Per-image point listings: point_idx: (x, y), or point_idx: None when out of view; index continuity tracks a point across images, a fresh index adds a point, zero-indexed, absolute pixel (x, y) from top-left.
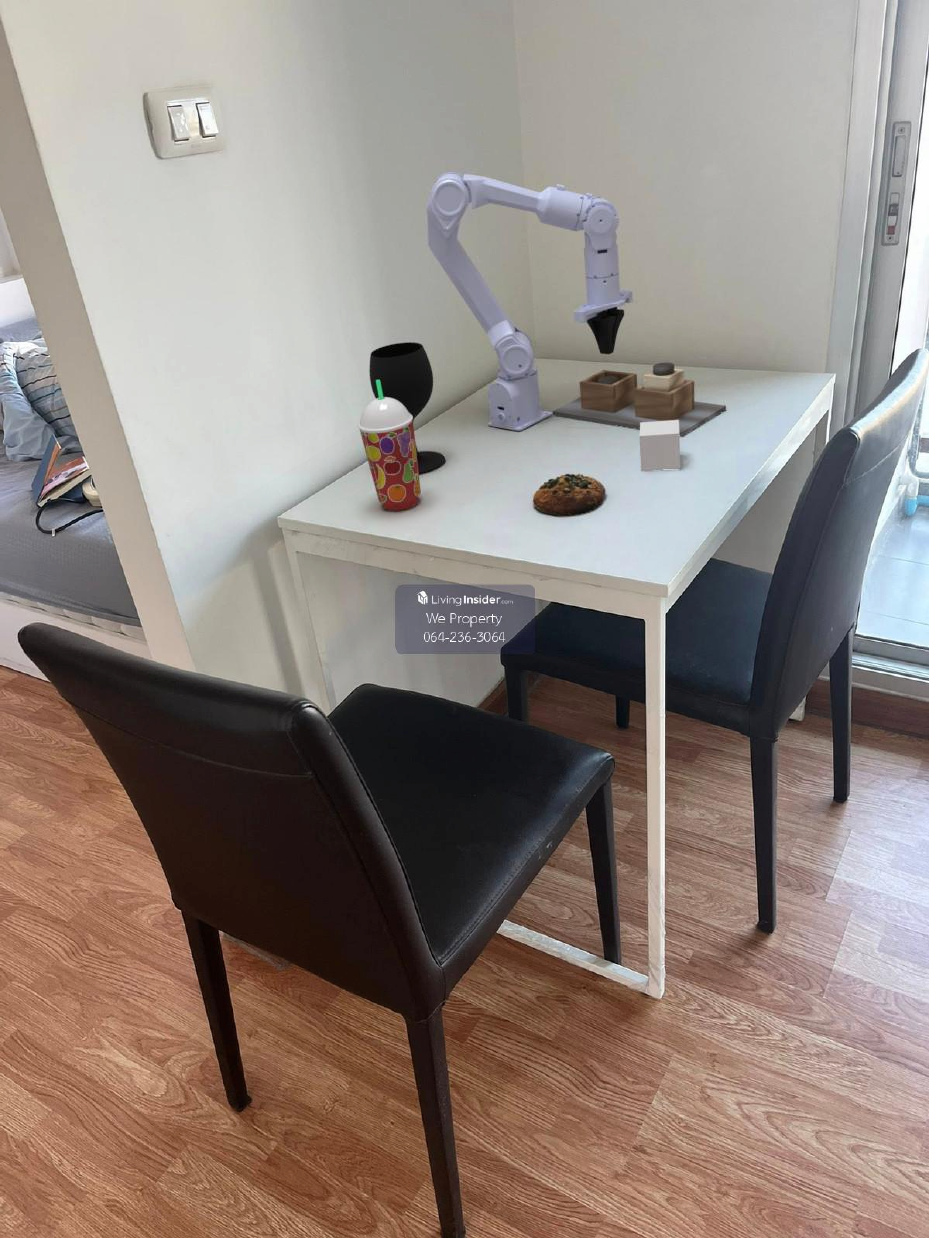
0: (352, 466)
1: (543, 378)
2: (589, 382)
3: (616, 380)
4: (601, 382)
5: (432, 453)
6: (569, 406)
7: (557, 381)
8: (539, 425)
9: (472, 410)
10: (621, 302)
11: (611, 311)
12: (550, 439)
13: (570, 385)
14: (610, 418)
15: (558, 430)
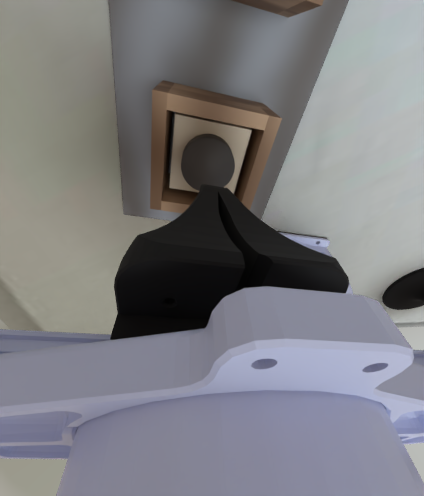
0: (400, 326)
1: (107, 302)
2: (247, 199)
3: (211, 139)
4: (232, 174)
5: (401, 288)
6: None
7: (109, 284)
8: (299, 226)
9: None
10: (371, 347)
11: (193, 322)
12: (372, 179)
13: (115, 262)
14: (298, 95)
15: (327, 186)
